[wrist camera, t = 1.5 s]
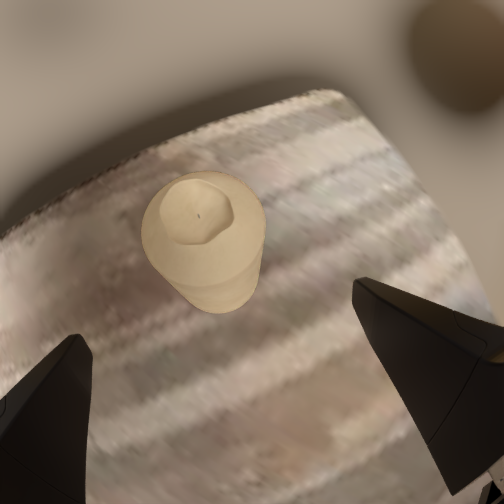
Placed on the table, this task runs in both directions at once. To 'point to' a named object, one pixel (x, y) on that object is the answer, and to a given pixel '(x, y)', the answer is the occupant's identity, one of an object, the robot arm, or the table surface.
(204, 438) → the table surface
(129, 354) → the table surface
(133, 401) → the table surface
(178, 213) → the candle
